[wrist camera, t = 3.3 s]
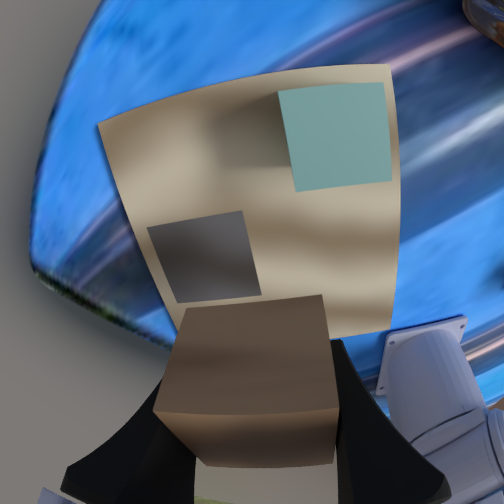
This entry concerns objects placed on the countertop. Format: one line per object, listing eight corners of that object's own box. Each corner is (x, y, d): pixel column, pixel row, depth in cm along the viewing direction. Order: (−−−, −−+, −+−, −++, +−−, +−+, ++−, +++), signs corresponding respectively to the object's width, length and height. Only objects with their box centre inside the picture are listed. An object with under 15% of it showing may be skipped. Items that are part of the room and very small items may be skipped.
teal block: (365, 157, 14) (391, 180, 11) (290, 166, 15) (295, 192, 11) (356, 83, 12) (383, 82, 9) (277, 91, 13) (277, 91, 9)
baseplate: (387, 322, 21) (389, 329, 20) (189, 343, 24) (187, 350, 23) (384, 64, 12) (389, 64, 11) (104, 121, 15) (97, 123, 14)
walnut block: (324, 375, 13) (332, 463, 9) (220, 382, 13) (206, 466, 10) (321, 293, 10) (339, 407, 6) (186, 307, 11) (152, 410, 7)
